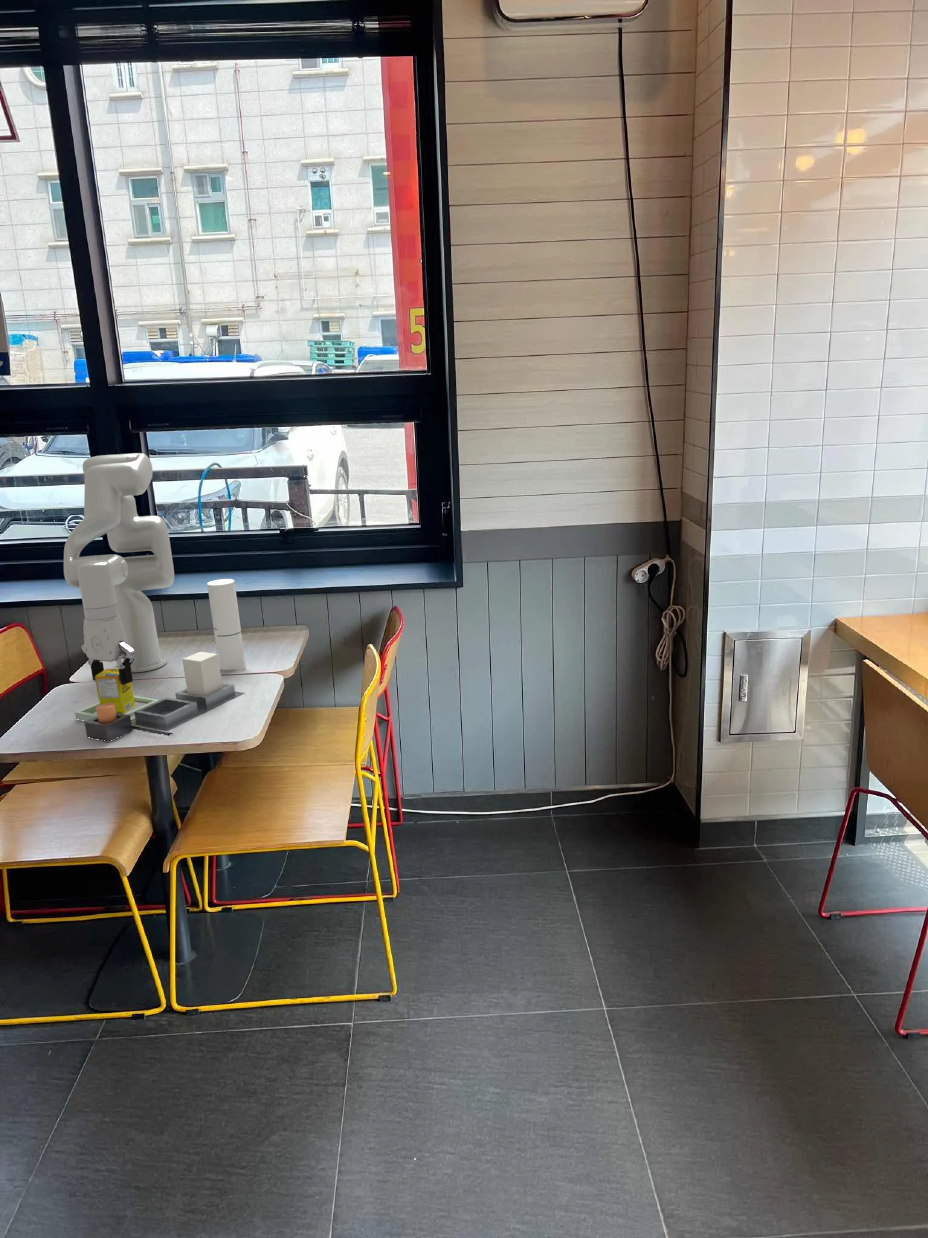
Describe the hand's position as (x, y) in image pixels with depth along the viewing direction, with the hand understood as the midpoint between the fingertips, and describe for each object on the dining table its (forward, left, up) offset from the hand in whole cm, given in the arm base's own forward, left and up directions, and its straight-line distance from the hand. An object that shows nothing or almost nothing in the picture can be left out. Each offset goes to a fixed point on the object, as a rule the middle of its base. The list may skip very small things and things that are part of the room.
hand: (113, 681), depth 217 cm
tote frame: (0, 0, -9) cm, 9 cm away
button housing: (+9, -10, -9) cm, 16 cm away
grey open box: (+16, +7, -9) cm, 19 cm away
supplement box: (0, 0, -9) cm, 9 cm away
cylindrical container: (+4, +36, -9) cm, 38 cm away
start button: (+9, -10, -6) cm, 15 cm away
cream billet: (+16, +14, -8) cm, 22 cm away
